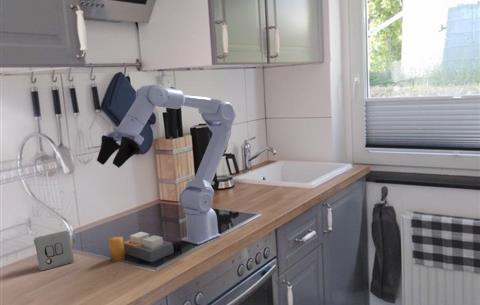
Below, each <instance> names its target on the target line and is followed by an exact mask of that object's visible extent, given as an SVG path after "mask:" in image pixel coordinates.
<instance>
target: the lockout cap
mask: <svg viewBox="0 0 480 305" xmlns="http://www.w3.org/2000/svg"><path fill="white" fill-rule="evenodd" d="M123 242H124V238H123V236H120V235H119V236H113V237H110V238H108V248H109V256H110V261H111V262H113V263H114V262H122V261H124V260H125V259H126V254H125V251H124V243H123Z"/></svg>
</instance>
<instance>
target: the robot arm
mask: <svg viewBox="0 0 480 305" xmlns="http://www.w3.org/2000/svg"><path fill="white" fill-rule="evenodd" d="M183 106H184V107H189V108H195V109H198V114H201V118H202V120H203V121H204V123H205V125H206V126H207V128H208V129H209V130H210V131H211V133H212V134H211V137H210V140H209V142H208V145H207V147H206V149H205V153H204V154H203V156H202V160H201V161H200V164H199V165H198V166H199V167H198V169H197V171H196V173H195V176H194V178H193V179H192V180H190V181H189V182H187V183H186V186H185V187H184V188H183V190H181V192H180V193H179V196H178V203H179V205H180V207H181V208H183V212H184V215H185V224H186V225H185V226H186V233H187V236H185V237H182V238H181V241H183V242H186V243H189V244H194V245H202V244H204V243H207V242H209V241H210V240H213V239H215V238H217V237H220V236H221V234H220V233H219V228H218V227H219V226H218V217H217V213H216V211H215V210H214V209H213V208H212V206H213V199H214V195H215V190H214V189H213V187H212V183H213V180H214V178H215V176H216V173H217V170H218V168H219V165H220V163H221V160H222V158H223V156H224V153H225V151H226V148H227V145H228V143H229V140H230V139H231V135H232V127H233V123H234V121H235V118H236V112H235V108H234V106H233V105H232V104H231V102H229V101H224V102H223V100H221V99H218V98H213V97H207V96H205V97H204V96H199V95H188V94H184V93H183V91H182V90H181V89H178V87H177V86H170V87H166V86H165V87H164V86H163V85H162V84H149V85H146V84H145V85H142V86H141V87H140V88H137V90H136V92H135V100H134V101H133V103H132V105H131V106H130V108H129V109H128V111H127V112H126V114H125V116H124V117H123V118H122V120H121V121H120V124H119V125H118V126H113V127H112V130H111V131H108V132H107V133H106V135H102V136H101V144H100V149H99V152H98V155H97V158H96V161H97V163H99V164H100V165H102V166H103V165H105V164H106V163H107V162H108V160H109V159H110V158H111V156H112V155H113V154H115V152H117V153H116V155H115V156H114V158H113V160H112V165H114V166H116V167H117V168H121V167H122V166H123V165H124V164H125V163H127V161H128V160H129V159H130V158H131V157H132V156H134V155H135V154H137V153H139V152H141V150H142V149H141V147H139V146H141V145H142V144H143V142H144V140H145V138H144V137H143V136H142V135H140V134H141V132H142V131H143V129H144V128H145V126H146V124H147V122H148V120H149V119H150V117H151V116H152V114H153V113H154V111H155V109H156V108H157V107H158V108H165V109H174V110H178V109H180V108H181V107H183ZM118 142H120V143H118Z"/></svg>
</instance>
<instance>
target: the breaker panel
mask: <svg viewBox="0 0 480 305" xmlns="http://www.w3.org/2000/svg"><path fill="white" fill-rule="evenodd" d="M123 243H124V251H125V255H128V256H131V257H134V258H136V259H140V260H144V261H146V262H149V263H154V262H155V261H158V260H161V259H163V258H165V257H167V256H169V255H172V254H174V253H175V251H174V243H173V242H172V241H171V242H170V241H166V240H164V239H163V245H161V246H159V247H156V248H154V249H150V248H146V247H144V245H143V243H141V244H138V245H136V244H133V243H131V241H130V239H129V240H126V241H123Z"/></svg>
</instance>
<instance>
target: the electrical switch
mask: <svg viewBox="0 0 480 305" xmlns="http://www.w3.org/2000/svg"><path fill="white" fill-rule="evenodd" d="M33 243H34V246H35V251H36V256H37V262H38V268H39V270H40V271H45V270H50V269H53V268H57V267H60V266H63V265H68V264H72V263H73V262H74V261H75V257H74V252H73V248H72V242H71V238H70V233H69V231H68V230H63V231H59V232H53V233H49V234H46V235H42V236H41V235H40V236H37V237H34V239H33ZM48 261H49V262H48Z"/></svg>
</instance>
